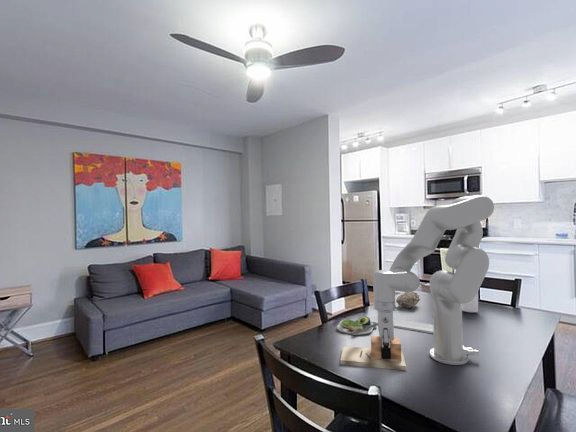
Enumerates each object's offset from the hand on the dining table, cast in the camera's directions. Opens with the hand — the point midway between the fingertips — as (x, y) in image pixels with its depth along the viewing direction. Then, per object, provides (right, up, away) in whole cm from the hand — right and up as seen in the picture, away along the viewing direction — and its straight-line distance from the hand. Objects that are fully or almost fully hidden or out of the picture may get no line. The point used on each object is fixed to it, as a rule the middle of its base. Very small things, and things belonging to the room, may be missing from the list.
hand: (385, 353), depth 112 cm
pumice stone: (+34, -2, +64) cm, 72 cm away
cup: (+61, -1, +51) cm, 79 cm away
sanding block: (0, -1, 0) cm, 1 cm away
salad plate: (-3, -3, +33) cm, 33 cm away
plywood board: (-4, -3, +1) cm, 5 cm away
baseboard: (+19, -3, +37) cm, 42 cm away
